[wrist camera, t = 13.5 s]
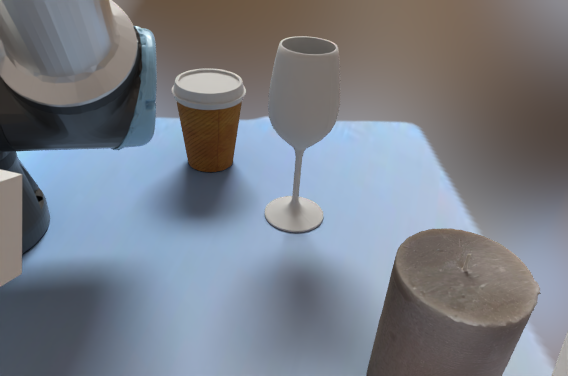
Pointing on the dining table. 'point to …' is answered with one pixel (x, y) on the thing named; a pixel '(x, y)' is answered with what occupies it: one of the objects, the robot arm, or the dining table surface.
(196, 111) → the disposable coffee cup
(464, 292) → the pillar candle
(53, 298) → the dining table surface
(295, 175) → the wineglass
